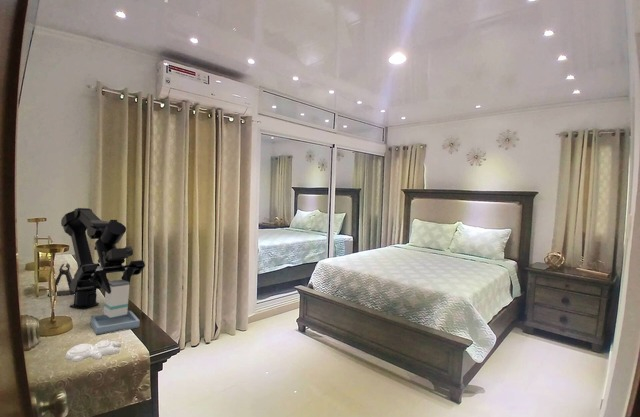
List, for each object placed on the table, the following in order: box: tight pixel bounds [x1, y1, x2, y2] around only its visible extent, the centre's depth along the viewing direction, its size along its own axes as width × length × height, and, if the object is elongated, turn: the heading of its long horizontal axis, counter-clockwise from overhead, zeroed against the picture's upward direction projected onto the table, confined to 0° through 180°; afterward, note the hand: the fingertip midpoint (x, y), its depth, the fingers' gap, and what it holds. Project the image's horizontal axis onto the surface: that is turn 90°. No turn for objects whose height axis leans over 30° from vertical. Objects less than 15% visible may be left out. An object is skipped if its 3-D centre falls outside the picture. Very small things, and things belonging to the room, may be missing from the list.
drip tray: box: [89, 310, 141, 336], centre depth 102 cm, size 12×12×2 cm
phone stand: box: [47, 263, 75, 297], centre depth 129 cm, size 9×6×12 cm, turn 125°
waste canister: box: [103, 278, 131, 318], centre depth 103 cm, size 5×5×10 cm
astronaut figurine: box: [64, 338, 122, 362], centre depth 84 cm, size 9×12×3 cm
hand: (119, 291), depth 102 cm, fingers closed on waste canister, 5 cm apart
